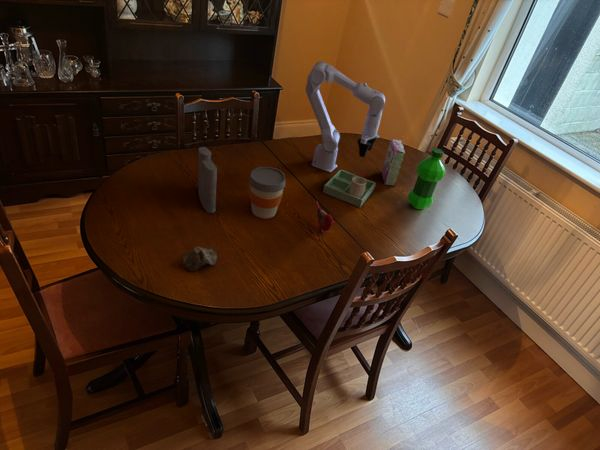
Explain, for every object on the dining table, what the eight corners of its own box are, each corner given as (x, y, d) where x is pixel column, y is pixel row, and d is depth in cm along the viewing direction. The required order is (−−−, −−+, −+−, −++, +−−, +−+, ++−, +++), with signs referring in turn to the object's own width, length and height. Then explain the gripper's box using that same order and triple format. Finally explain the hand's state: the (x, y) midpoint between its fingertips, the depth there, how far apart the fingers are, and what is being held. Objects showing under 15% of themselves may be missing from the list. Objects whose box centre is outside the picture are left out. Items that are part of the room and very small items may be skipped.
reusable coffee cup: (276, 224, 156) (281, 189, 147) (241, 216, 157) (245, 180, 148) (284, 205, 166) (289, 171, 157) (252, 198, 167) (255, 163, 158)
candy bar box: (380, 171, 198) (390, 138, 189) (391, 173, 199) (402, 140, 189) (383, 184, 189) (394, 150, 180) (395, 186, 190) (406, 152, 180)
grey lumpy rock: (214, 246, 139) (182, 252, 137) (213, 239, 132) (179, 246, 130) (219, 269, 136) (186, 276, 134) (218, 263, 130) (184, 271, 128)
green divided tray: (322, 192, 178) (324, 185, 175) (338, 176, 190) (340, 169, 188) (360, 207, 173) (362, 200, 171) (373, 189, 185) (376, 182, 183)
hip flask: (216, 212, 157) (218, 163, 145) (204, 214, 155) (205, 164, 143) (206, 188, 168) (207, 140, 156) (195, 189, 166) (195, 140, 154)
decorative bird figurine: (323, 244, 151) (328, 220, 146) (309, 213, 165) (313, 190, 159) (331, 243, 152) (337, 220, 146) (316, 213, 166) (321, 190, 160)
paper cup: (345, 198, 175) (349, 180, 171) (350, 191, 180) (355, 174, 175) (358, 203, 174) (363, 186, 169) (363, 197, 178) (368, 180, 173)
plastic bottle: (402, 206, 178) (421, 151, 163) (409, 195, 186) (428, 141, 171) (426, 216, 175) (448, 160, 160) (432, 204, 183) (454, 150, 168)
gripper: (375, 132, 173) (367, 162, 181) (387, 120, 184) (379, 149, 192) (358, 126, 175) (351, 157, 183) (371, 115, 186) (364, 144, 194)
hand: (364, 153), depth 188 cm, fingers open, 7 cm apart
